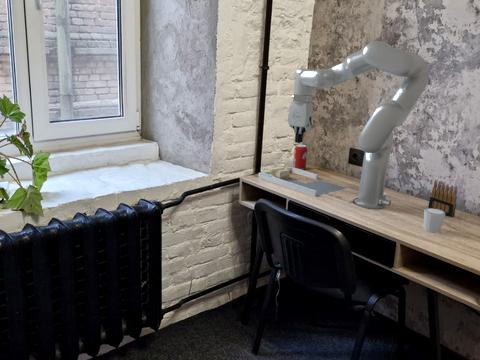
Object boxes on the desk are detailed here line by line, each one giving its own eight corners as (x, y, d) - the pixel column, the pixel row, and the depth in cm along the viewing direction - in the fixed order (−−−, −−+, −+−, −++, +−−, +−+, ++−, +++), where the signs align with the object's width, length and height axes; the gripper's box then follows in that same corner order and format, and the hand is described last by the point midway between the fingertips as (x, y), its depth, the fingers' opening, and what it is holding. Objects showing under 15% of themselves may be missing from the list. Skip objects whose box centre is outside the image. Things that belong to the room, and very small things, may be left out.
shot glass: (444, 230, 173) (448, 211, 171) (437, 235, 168) (441, 215, 166) (425, 224, 177) (429, 206, 175) (418, 229, 172) (421, 210, 170)
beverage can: (306, 171, 242) (308, 147, 238) (293, 170, 242) (295, 146, 238) (304, 168, 248) (307, 144, 244) (292, 167, 248) (294, 143, 244)
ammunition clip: (427, 208, 196) (432, 179, 193) (430, 208, 197) (435, 179, 194) (451, 217, 188) (457, 187, 184) (454, 216, 189) (460, 186, 185)
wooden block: (288, 178, 220) (289, 170, 219) (279, 180, 216) (280, 171, 215) (279, 175, 225) (280, 167, 223) (269, 177, 221) (270, 168, 220)
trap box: (346, 191, 212) (347, 182, 211) (314, 199, 198) (315, 190, 197) (290, 173, 235) (291, 166, 233) (257, 180, 220) (258, 172, 219)
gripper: (282, 97, 207) (279, 140, 212) (311, 101, 197) (307, 146, 202) (294, 96, 212) (290, 138, 217) (322, 100, 202) (318, 144, 207)
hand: (298, 142), depth 209 cm, fingers closed
